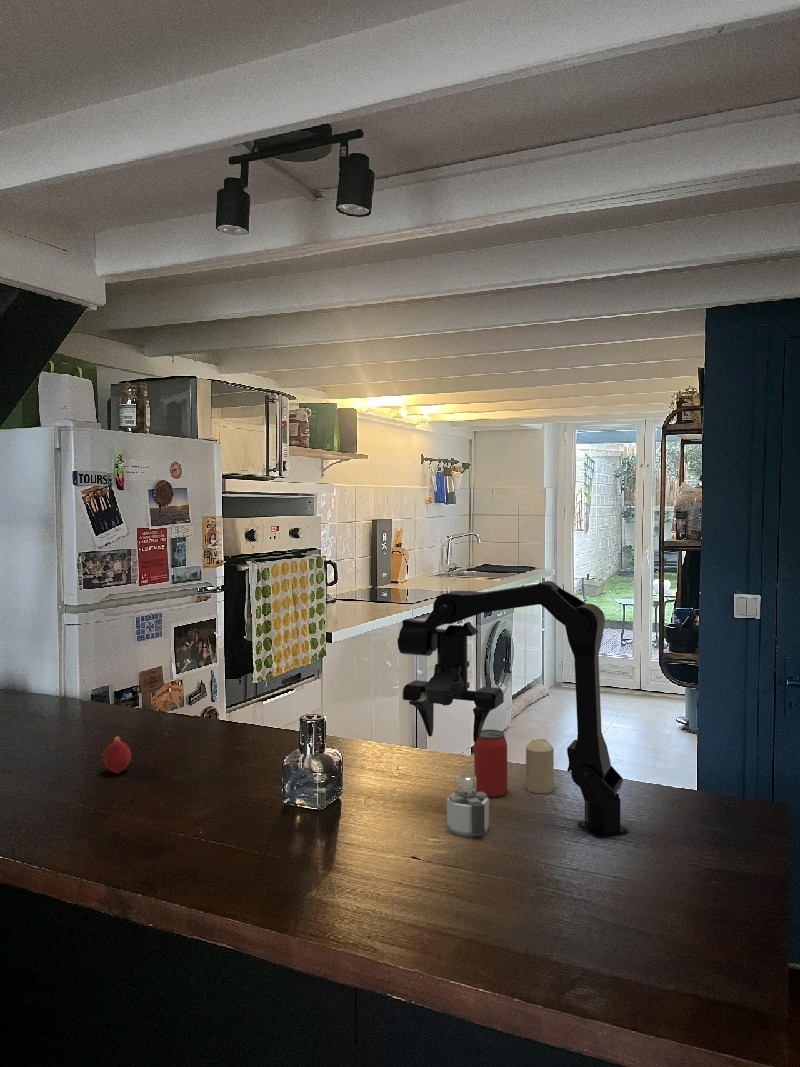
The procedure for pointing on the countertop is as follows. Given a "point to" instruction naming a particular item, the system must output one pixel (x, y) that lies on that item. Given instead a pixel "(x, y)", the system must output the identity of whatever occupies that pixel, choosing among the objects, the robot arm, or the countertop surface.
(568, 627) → the robot arm
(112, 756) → the onion
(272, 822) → the countertop surface
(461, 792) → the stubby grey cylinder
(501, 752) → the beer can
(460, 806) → the grey faceted drum
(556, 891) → the countertop surface
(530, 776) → the candle
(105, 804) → the countertop surface
